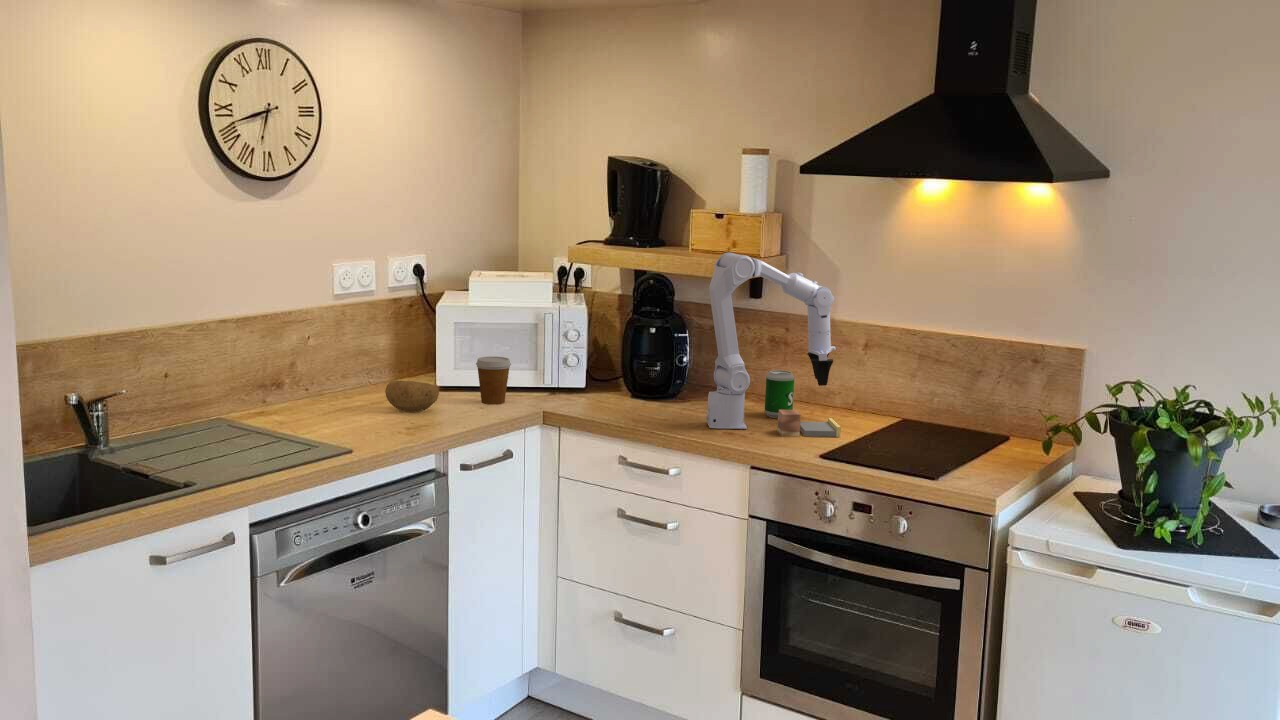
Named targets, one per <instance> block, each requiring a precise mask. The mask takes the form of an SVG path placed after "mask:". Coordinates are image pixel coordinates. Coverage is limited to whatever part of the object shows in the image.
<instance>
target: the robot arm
mask: <svg viewBox="0 0 1280 720" xmlns="http://www.w3.org/2000/svg"><path fill="white" fill-rule="evenodd" d="M752 277H754V278H757V277H761V278H763V279H765V280H768V281H770V282H771V283H775V284H777V285H778V286H780V287H781V289H782V292H783V293H784V294H786V295H788V296H791V298H794V299H797V300H799V301H800V302H803V303H804V305H806V306H807V328H808V329H807V330H808V331H807V332H808V348H807V350H808V352H807V355H808V357H809V360H810V362H811V366H812V370H813V371H812V372H813V375H814V376H813V377H814V378H815V380H816V381H817V385H818V386H820V387H824V386H825V387H826V386H827V385H828V382H829V375H830V371H831V368H832V365H833V363H834V359H833V358H830V359H829V355H830V353H831V352H832V351H836V350H837V349H836V346H834V345H833V346H831V345H832V341H831V340H832V339H831V337H832V336H831V333H832V332H831V307H832V305H833V303H834V302H835V301H834V300H835V296H833V293H832V291H831V289H830V288H828V287H826V286H822V285H818V283H819V282H818V281H817V280H813V279H812V280H810V279H808V278H806V277H804V274H803V273H801V272H800V271H799V272H791V273H788V274H786V273H784V272H783V271H781V270H779V269H778V268H776V267H773V266H772V265H770V264H768V263H766V262H765V261H763V260H761V259H757V258H754V257H750V256H748V255H746V254H738V253H734V252H725V253H723V254H722V255H721V256H720V257H719V258H718V259H717V260H716V261H715V263H714V271H713V274H712V277H711V280H710V284H709V287H708V291H709V293H708V294H709V299H710V306H711V307H710V308H711V313H712V314H711V315H712V319H713V327H714V334H715V341H716V342H715V343H716V348H717V353H718V355H717V357H716V359H715V361H714V364H715V366H714V367H715V368H714V371H713V380H714V383H715V384H716V385H717V386H716V390H715V391H709V392H708V396H707V410H706V411H707V412H706V424H707V425H708V427H709V428H710V429H721V430H722V429H726V430H727V429H731V430H732V429H733V430H734V429H735V430H747V429H748V427H747V425H746V423H745V422H744V420H745V403H746V401H745V399H746V390H747V389H749V386H750V384H751V377H750V374H749V373H748V371H747V369H746V366H745V362H744V361H743V360H744V359H742V356H741V355H740V349H739V341H738V334H737V327H736V321H735V314H734V313H735V312H734V307H733V298H732V294H733V292H734V291H736V289H737V288H738V287H739V286H740V285H743V283H745V282H746V281H748V280H749V279H750V278H752Z"/></svg>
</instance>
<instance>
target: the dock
mask: <svg viewBox="0 0 1280 720" xmlns="http://www.w3.org/2000/svg"><path fill="white" fill-rule="evenodd" d="M841 427H842V426H841V425H840V424H838V423H837V422H836V421H835V420H834V418H832V417H828V418H827V421H800V431H801V432H800V434H802V435H803V436H804V437H807V436H809V437H810V436H811V437H813V438H816V437H817V438H818V437H819V438H822V437H823V438H841V432H842V431H841V429H842V428H841Z"/></svg>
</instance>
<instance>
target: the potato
mask: <svg viewBox="0 0 1280 720" xmlns="http://www.w3.org/2000/svg"><path fill="white" fill-rule="evenodd" d="M384 393H385V397H386V399H387V401H388V402H389V404H390V405H391V406H393V407H394V408H395V409H397V410H400V411H403V412H407V413H412V412H418V411H425V410H428V409H429V408H431V406H432V405H433V404H435V403H436V402H437V401H438V398H439V395H440V392H439V388H438V387H437V386H436V385H434V384H431V383H429V382H428V383H427V382H420V381H415V380H414V381H413V380H392V381H389V383H387V384H386V387H385V391H384Z"/></svg>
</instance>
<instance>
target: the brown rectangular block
mask: <svg viewBox="0 0 1280 720" xmlns="http://www.w3.org/2000/svg"><path fill="white" fill-rule="evenodd" d="M801 417H802V415H801V414H800V412H799V411H798V410H797V409H793V410H779V414H778V418H777V429H776V431H777V432H778V433H779V435H780V434H781V435H780V436H781V437H785V436H800V437H801V432H800V422H801V419H802V418H801Z"/></svg>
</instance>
